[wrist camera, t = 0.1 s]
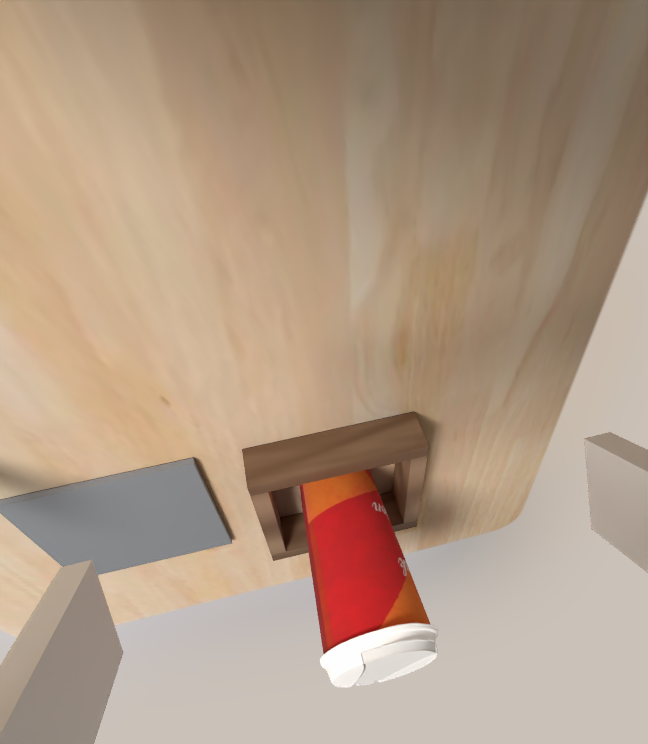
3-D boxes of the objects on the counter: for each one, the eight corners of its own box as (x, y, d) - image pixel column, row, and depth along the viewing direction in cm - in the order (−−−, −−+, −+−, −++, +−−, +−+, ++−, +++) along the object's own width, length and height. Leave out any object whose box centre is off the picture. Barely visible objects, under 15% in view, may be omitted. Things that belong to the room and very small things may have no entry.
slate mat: (-5, 500, 34) (-6, 507, 34) (193, 457, 35) (193, 463, 35) (78, 573, 44) (77, 579, 44) (231, 537, 45) (231, 543, 45)
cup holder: (242, 449, 36) (247, 487, 34) (414, 411, 37) (429, 446, 35) (268, 527, 45) (273, 560, 43) (405, 495, 46) (416, 526, 44)
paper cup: (357, 501, 45) (409, 680, 36) (273, 501, 42) (306, 697, 33) (397, 447, 40) (469, 640, 31) (306, 443, 37) (356, 656, 28)
